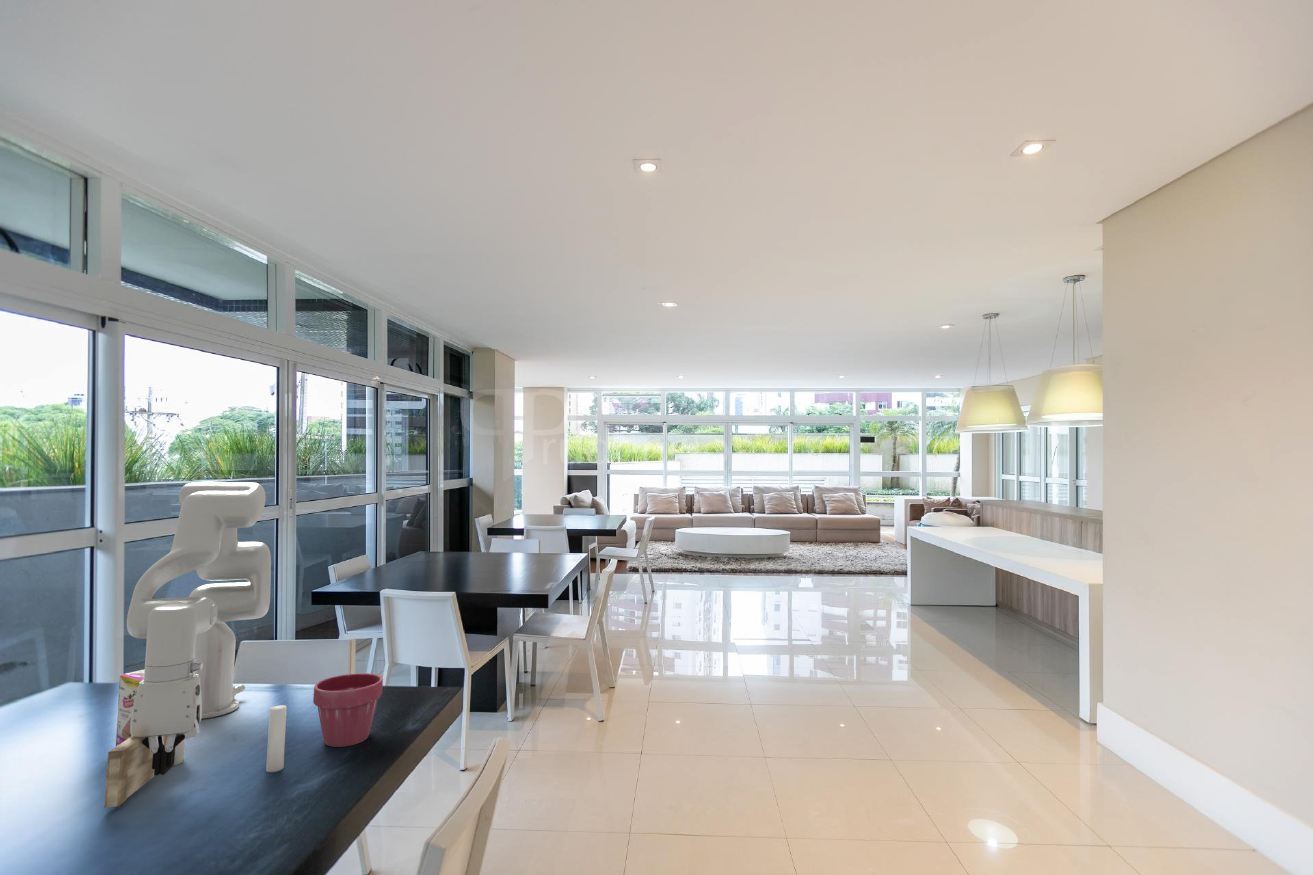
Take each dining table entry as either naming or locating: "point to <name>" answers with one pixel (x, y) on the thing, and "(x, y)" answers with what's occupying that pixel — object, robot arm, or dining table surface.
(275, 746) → the gate posts
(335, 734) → the plant pot
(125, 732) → the candy bar box
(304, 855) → the dining table surface
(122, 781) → the gate
